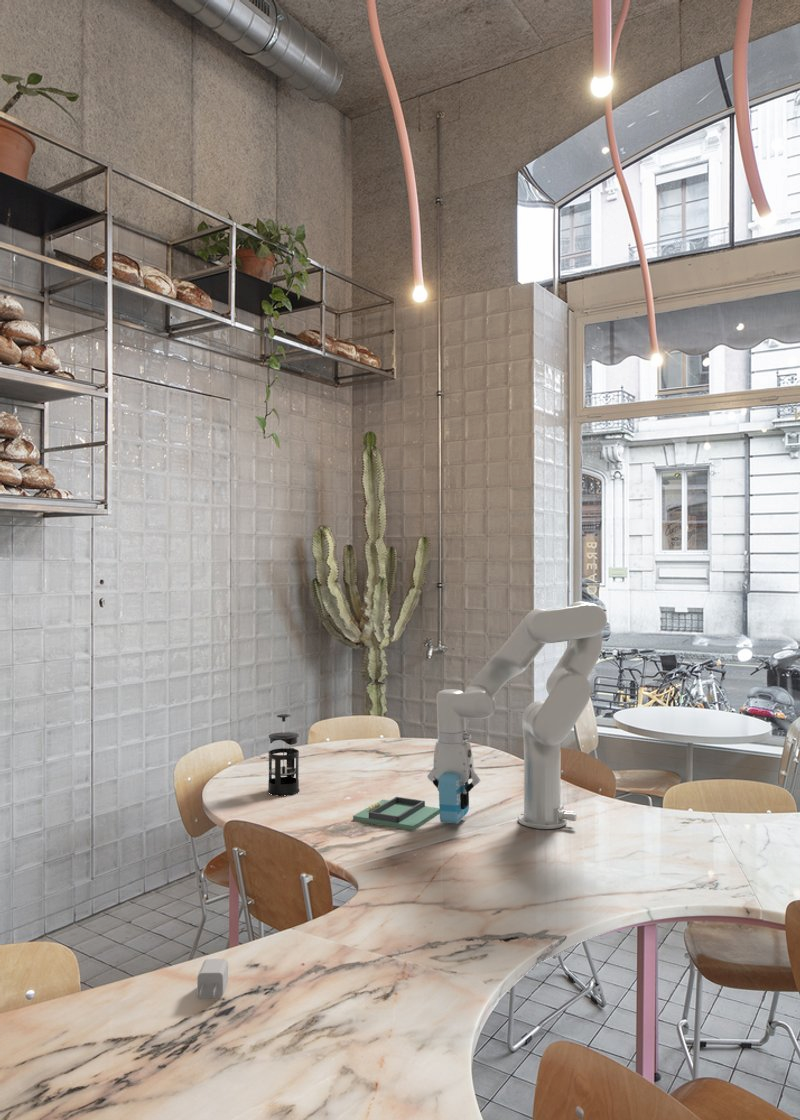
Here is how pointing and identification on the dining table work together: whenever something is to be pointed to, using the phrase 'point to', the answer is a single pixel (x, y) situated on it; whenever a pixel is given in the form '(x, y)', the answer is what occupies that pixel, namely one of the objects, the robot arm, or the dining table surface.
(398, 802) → the circuit board
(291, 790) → the french press
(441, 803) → the data package
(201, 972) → the usb wall charger
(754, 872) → the dining table surface
